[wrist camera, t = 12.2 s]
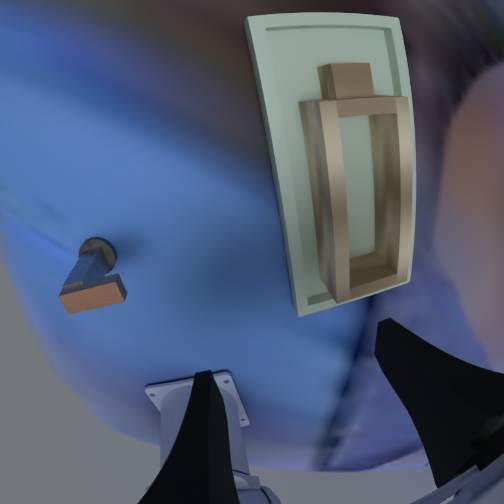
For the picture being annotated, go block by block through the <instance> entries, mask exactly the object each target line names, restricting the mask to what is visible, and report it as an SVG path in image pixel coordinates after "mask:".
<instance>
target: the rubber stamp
mask: <svg viewBox="0 0 504 504" xmlns="http://www.w3.org/2000/svg"><path fill="white" fill-rule="evenodd" d="M115 262H116V252H115V250H114V248H113V246H112V245H111V244H110V243H109V242H108V241H106V240H105V239H102V238H98V237H94V238H90V239H88V240H86V241H85V242H84V243H83V245H82V246H81V248H80V250H79V260H78V261H77V263H76V264H75V266H74V268H73V269H72V271H71V273H70V274H69V276H68V278H67V279H66V281H65V283H64V284H63V286H62V287H63V289H62V291H61V292H60V294H59V296H58V297H59V299H60V300H61V302H62V304H63V306H64V308H65V309H66V311H67V313H68V314H72V313H76V312H81V311H85V310H90V309H94V308H99V307H103V306H108V305H112V304H116V303H121V302H125V299H126V295H127V291H126V289H125V287H124V284H123V282H122V280H121V278H120V275H119V273H118V274H115V275H111V276H107V277H104V276H105V274H107V273H109V272H110V271H111V270H112V269H113V267H114V265H115Z"/></svg>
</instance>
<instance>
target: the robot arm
mask: <svg viewBox="0 0 504 504" xmlns="http://www.w3.org/2000/svg"><path fill="white" fill-rule="evenodd" d="M374 354H375V357H376V359H377V361H378V363H379V365H380V367H381V369H382V371H383V373H384V375H385V376H386V378H387V379H388V381H389V383H390V384H391V386H392V387H393V389H394V390H395V392H396V393H397V395H398V396H399V398H400V400H401V401H402V403H403V404H404V406H405V407H406V409H407V411H408V413H409V414H410V416H411V418H412V421H413V423H414V425H415V427H416V429H417V431H418V434H419V436H420V439H421V441H422V444H423V446H424V449H425V452H426V454H427V457H428V460H429V463H430V466H431V470H432V473H433V477H434V481H435V484H436V486H437V488H438V489H437V490H435V491H433V492H432V493H430V494H428V495H426V496H425V497H423V498H421V499H419V500H417V501H415V502H413V503H411V504H439V503H441V502H442V501H444V500H446V499H447V498H449V497H451V496H452V495H454V494H455V493H456V494H455V495H454V499H453V500H452V501H450V502H449V503H447V504H504V374H503V373H499V372H494V371H491V370H487V369H484V368H481V367H478V366H475V365H472V364H470V363H467V362H465V361H463V360H460V359H458V358H456V357H454V356H452V355H450V354H448V353H446V352H444V351H442V350H440V349H438V348H437V347H435V346H433V345H431V344H430V343H428V342H426V341H425V340H423V339H422V338H420V337H418V336H417V335H415V334H414V333H412V332H411V331H409V330H408V329H406V328H405V327H403V326H402V325H400V324H399V323H397V322H396V321H394V320H393V319H391V318H388V319H385V320H383V321H380V322H378V327H377V336H376V344H375V352H374ZM145 392H146V394H147V395H148V397H149V398H150V399H151V401H152V402H153V403H154V405H155V406H156V407H157V409H158V410H159V411H160V413H161V470H160V472H159V474H158V475H157V477H156V478H155V480H154V481H153V483H152V484H151V485H150V486H148V487H147V488H146V490H145V495H144V496H143V497H142V499H141V500H140V501H139V502H138V503H137V504H281V502H280V500H279V498H278V497H277V496H276V495H275V494H274V492H272V490H271V489H270V488H268V487H266V486H260V482H259V477H258V476H250V473H249V466H248V461H247V456H246V451H245V446H244V441H243V435H242V430H241V427H244V426H247V425H249V424H250V422H249V419H248V416H247V414H246V411H245V409H244V407H243V404H242V402H241V399H240V397H239V394H238V392H237V389H236V387H235V384H234V382H233V379H232V376H231V374H230V373H229V372H221V373H216V374H212V372H211V370H208V371H203V372H198V373H196V374H195V375H194V378H191V379H186V380H180V381H175V382H169V383H163V384H157V385H150V386H146V387H145Z"/></svg>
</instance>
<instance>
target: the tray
mask: <svg viewBox="0 0 504 504" xmlns="http://www.w3.org/2000/svg"><path fill="white" fill-rule="evenodd" d="M243 24H244V29H245V33H246V38H247V43H248V47H249V52H250V57H251V62H252V67H253V72H254V77H255V82H256V87H257V92H258V97H259V102H260V107H261V112H262V118H263V123H264V128H265V134H266V139H267V145H268V150H269V156H270V162H271V168H272V173H273V179H274V185H275V191H276V197H277V203H278V209H279V215H280V222H281V228H282V234H283V241H284V247H285V254H286V261H287V267H288V274H289V281H290V288H291V295H292V302H293V306H294V309H295V311H296V313H297V315H298V317H301V316H305V315H308V314H312V313H315V312H319V311H322V310H325V309H329V308H332V307H335V306H339V305H342V304H345V303H348V302H351V301H355V300H358V299H361V298H364V297H367V296H370V295H373V294H376V293H379V292H382V291H385V290H388V289H391V288H394V287H397V286H399V285H402V284H405V283H408V282H410V277H411V267H412V257H413V246H414V231H415V211H416V151H415V131H414V117H413V106H412V96H411V87H410V79H409V72H408V65H407V59H406V53H405V47H404V42H403V37H402V32H401V27H400V22H399V18H395V17H387V16H378V15H367V14H353V13H285V14H271V15H260V16H250V17H247V18H246V20H245V22H244V23H243ZM331 63H370V68H371V74H372V81H373V88H374V95H389V96H405V97H408V102H409V113H410V125H411V142H412V174H413V192H412V225H411V242H410V255H409V266H408V275H407V281H405V282H402V283H400V284H397V285H394V286H391V287H388V288H385V289H382V290H379V291H376V292H373V293H370V294H367V295H364V296H361V297H357V298H354V299H351V300H348V301H345V302H341V303H338V304H337V303H336V302H335V300H334V299H333V297H332V296H331V294H330V293H329V291H328V290H327V288H326V287H325V285H324V284H323V282H322V281H321V279H320V276H319V263H318V252H317V241H316V230H315V221H314V211H313V202H312V194H311V186H310V178H309V170H308V162H307V155H306V148H305V141H304V134H303V128H302V121H301V115H300V109H299V103H298V102H301V101H309V100H318V99H322V94H321V88H320V82H319V76H318V70H317V67H319V66H323V65H327V64H331ZM338 119H339V127H340V135H341V143H342V153H343V163H344V173H345V185H346V199H347V215H348V235H349V259H350V258H354V257H358V256H361V255H365V254H368V253H372V252H375V203H374V177H373V160H372V147H371V135H370V125H369V116H368V115H362V116H352V117H342V118H338Z"/></svg>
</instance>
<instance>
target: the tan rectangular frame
mask: <svg viewBox="0 0 504 504" xmlns="http://www.w3.org/2000/svg"><path fill="white" fill-rule="evenodd" d="M317 70H318V76H319V82H320V88H321V94H322V99H318V100H309V101H301V102H298V103H299V109H300V115H301V121H302V128H303V134H304V141H305V148H306V155H307V162H308V170H309V178H310V186H311V194H312V202H313V211H314V221H315V230H316V241H317V252H318V263H319V276H320V279H321V281H322V282H323V284H324V285H325V287H326V288H327V290H328V291H329V293H330V294H331V296H332V297H333V299H334V300H335V302H336V303H337V304H338V303H341V302H345V301H348V300H351V299H354V298H357V297H361V296H364V295H367V294H370V293H373V292H376V291H379V290H382V289H385V288H388V287H391V286H394V285H397V284H400V283H402V282H405V281H407V275H408V266H409V255H410V242H411V225H412V192H413V174H412V142H411V125H410V113H409V102H408V97H405V96H389V95H374V88H373V81H372V74H371V68H370V63H331V64H327V65H323V66H319V67H317ZM362 115H368V116H369V125H370V135H371V147H372V160H373V177H374V203H375V252H372V253H368V254H365V255H361V256H358V257H354V258H350V259H349V235H348V215H347V199H346V185H345V173H344V163H343V153H342V143H341V135H340V127H339V119H338V118H342V117H352V116H362Z"/></svg>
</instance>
